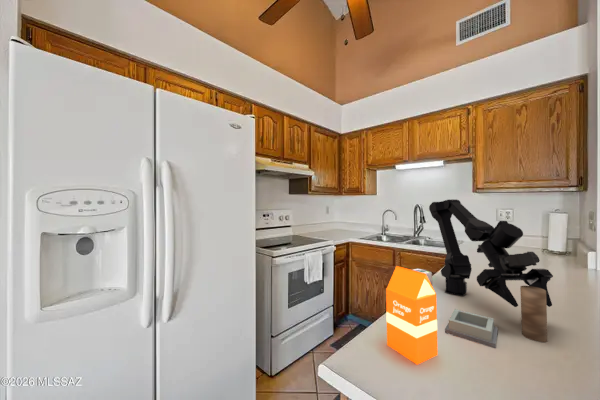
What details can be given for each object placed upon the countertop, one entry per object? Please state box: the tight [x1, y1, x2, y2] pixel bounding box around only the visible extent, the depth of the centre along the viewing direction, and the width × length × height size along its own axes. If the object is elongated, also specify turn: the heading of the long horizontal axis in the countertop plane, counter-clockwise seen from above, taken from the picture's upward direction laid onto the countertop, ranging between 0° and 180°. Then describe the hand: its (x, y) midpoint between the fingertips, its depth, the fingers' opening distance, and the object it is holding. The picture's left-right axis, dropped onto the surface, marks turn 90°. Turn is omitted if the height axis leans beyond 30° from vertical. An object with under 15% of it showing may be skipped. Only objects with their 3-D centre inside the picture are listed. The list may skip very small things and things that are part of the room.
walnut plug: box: [520, 285, 549, 343], centre depth 64 cm, size 5×5×13 cm
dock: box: [444, 308, 499, 349], centre depth 67 cm, size 11×11×4 cm
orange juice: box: [385, 265, 439, 366], centre depth 59 cm, size 8×9×20 cm
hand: (533, 306), depth 64 cm, fingers open, 9 cm apart
